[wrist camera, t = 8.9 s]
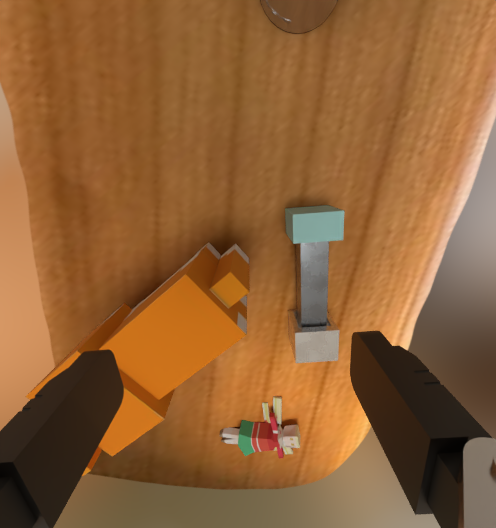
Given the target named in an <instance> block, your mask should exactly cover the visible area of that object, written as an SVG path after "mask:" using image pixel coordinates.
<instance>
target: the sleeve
mask: <svg viewBox="0 0 496 528" xmlns="http://www.w3.org/2000/svg"><path fill="white" fill-rule="evenodd" d="M288 320H289V339H290V343H291V346H292V350H293V354H294V358H295V362H296V363H305V362H321V361H337V360H338V348H339V329H338V327H337V326H336V324H335V322H334V321H333V319H332V317H331V315H330V314H329V312H328V310H327V326H319V327H304V328H299V327H298V324H297V310H288Z"/></svg>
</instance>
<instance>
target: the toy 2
mask: <svg viewBox="0 0 496 528" xmlns="http://www.w3.org/2000/svg"><path fill="white" fill-rule="evenodd" d="M262 406H263V413H264V420H265V423H262V422H250V421H245V420H242V422H241V427H240V429H238V428H224V429H222V430H221V431H220V437H223V438H222V440H221V441H222V442H224V443H229V444H238V446H239V448H240V449H241V451H242V452H243V453H244V455H245V456H246V455H249V454H251V453H253V452H259V451H270V450H277V451H278V456H279V458H283V450H284V452H285V454H293V450H292V448H300V432H299V426H298V425H289V426H284V429H282V428H281V426H280V424H281V422H282V397H278V396H273V413H270V414H269V408H268V402H265V403H262ZM277 424H279V426H278V425H277Z"/></svg>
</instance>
